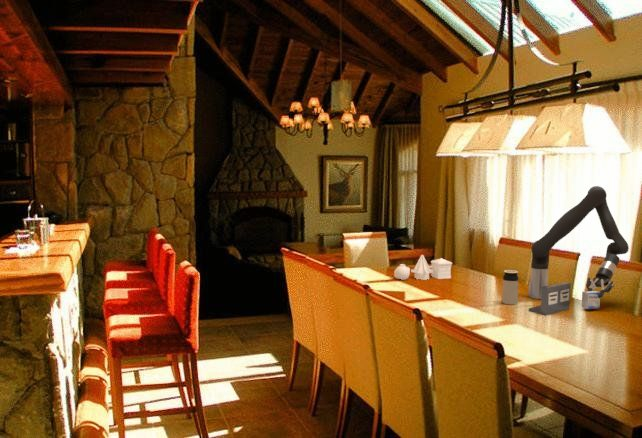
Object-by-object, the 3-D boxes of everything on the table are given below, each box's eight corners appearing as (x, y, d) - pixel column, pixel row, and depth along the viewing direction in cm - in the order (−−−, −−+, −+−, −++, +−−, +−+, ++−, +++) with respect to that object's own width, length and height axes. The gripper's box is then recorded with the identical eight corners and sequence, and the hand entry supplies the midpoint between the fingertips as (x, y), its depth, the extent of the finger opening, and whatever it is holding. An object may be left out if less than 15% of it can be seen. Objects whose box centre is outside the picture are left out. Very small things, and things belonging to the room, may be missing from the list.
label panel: (528, 311, 310) (529, 284, 308) (552, 305, 323) (553, 280, 322) (546, 315, 301) (547, 288, 300) (570, 309, 315) (571, 283, 313)
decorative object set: (440, 274, 413) (441, 251, 412) (453, 279, 397) (454, 255, 395) (388, 277, 401) (388, 253, 399) (399, 282, 384) (400, 257, 383)
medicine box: (587, 309, 310) (588, 292, 309) (581, 307, 314) (582, 291, 313) (599, 308, 312) (600, 292, 311) (593, 306, 316) (594, 290, 315)
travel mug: (518, 305, 322) (519, 272, 321) (502, 304, 324) (504, 272, 322) (516, 302, 330) (517, 270, 328) (501, 301, 332) (502, 269, 330)
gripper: (591, 265, 322) (578, 289, 316) (617, 268, 311) (604, 294, 305) (595, 273, 326) (583, 297, 320) (621, 277, 315) (609, 302, 309)
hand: (593, 295), depth 313 cm, fingers closed on medicine box, 5 cm apart
